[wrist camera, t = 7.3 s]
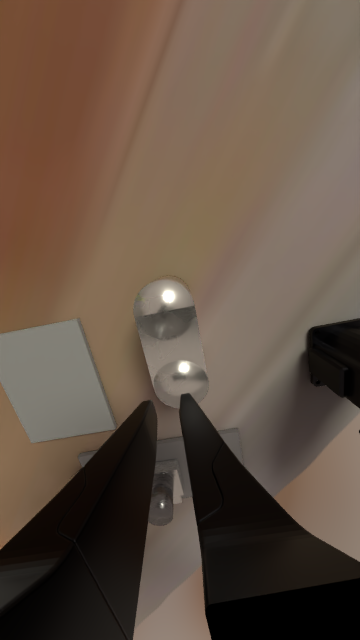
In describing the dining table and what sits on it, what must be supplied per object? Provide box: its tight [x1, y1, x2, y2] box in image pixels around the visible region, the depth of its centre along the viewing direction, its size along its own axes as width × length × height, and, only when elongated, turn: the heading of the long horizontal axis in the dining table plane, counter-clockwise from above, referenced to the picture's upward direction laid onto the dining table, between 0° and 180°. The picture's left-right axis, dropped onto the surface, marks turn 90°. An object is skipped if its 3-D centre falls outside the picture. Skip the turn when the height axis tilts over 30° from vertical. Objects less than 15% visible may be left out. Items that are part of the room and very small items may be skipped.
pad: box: [0, 318, 117, 443], centre depth 21 cm, size 10×13×1 cm
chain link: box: [133, 275, 209, 409], centre depth 16 cm, size 4×10×6 cm, turn 11°
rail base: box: [78, 428, 244, 498], centre depth 22 cm, size 19×9×4 cm, turn 101°
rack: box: [69, 459, 184, 526], centre depth 22 cm, size 13×5×4 cm, turn 101°
